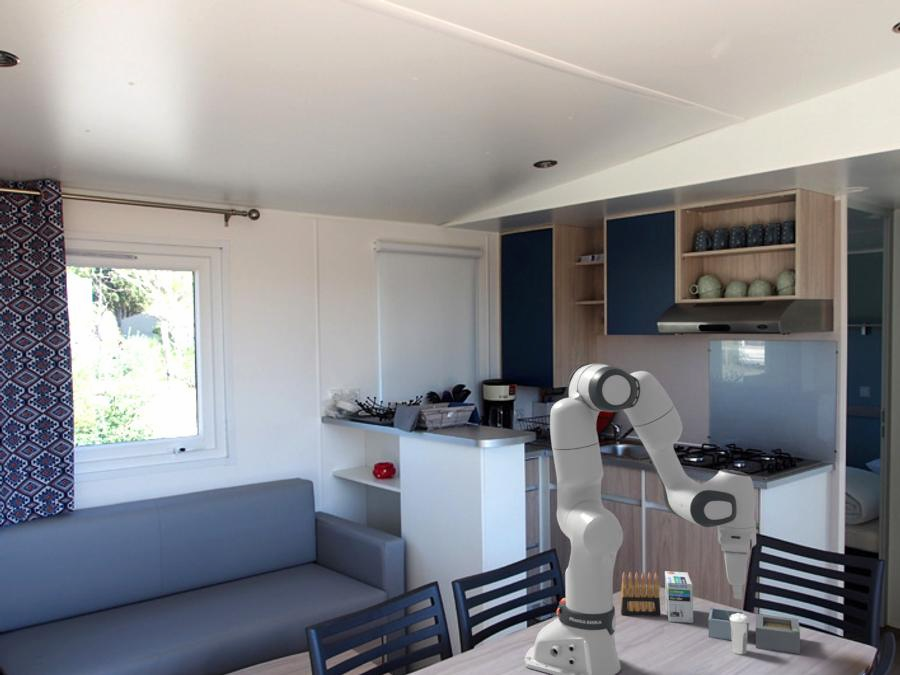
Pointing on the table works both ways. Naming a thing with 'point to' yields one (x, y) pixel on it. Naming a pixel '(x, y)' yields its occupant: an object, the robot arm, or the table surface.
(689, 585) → the light bulb box
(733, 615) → the milkshake
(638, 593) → the ammunition clip
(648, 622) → the table surface
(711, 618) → the bin
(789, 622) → the square frame
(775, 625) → the plain tan rectangular plate
